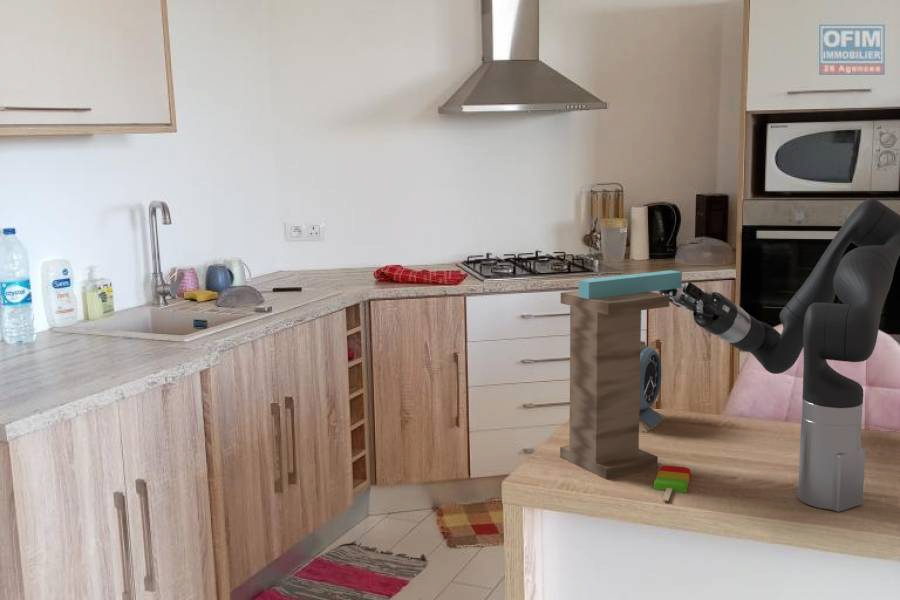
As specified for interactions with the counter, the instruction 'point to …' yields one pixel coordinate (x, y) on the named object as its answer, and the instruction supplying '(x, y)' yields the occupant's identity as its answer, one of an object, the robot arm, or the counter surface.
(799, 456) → the robot arm
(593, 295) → the teal bar
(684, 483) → the popsicle
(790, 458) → the counter surface
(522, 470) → the counter surface
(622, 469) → the shelf stand
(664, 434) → the counter surface
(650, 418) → the alarm clock
